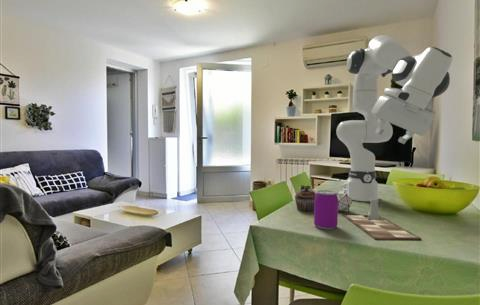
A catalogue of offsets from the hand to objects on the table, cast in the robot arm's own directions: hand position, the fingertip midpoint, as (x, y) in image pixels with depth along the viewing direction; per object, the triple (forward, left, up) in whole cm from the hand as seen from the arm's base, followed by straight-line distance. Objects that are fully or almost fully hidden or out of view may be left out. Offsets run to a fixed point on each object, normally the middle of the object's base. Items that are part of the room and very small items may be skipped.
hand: (389, 138), depth 97 cm
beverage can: (-1, -20, -31) cm, 37 cm away
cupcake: (-25, -21, -31) cm, 45 cm away
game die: (-22, -7, -31) cm, 38 cm away
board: (-2, -2, -30) cm, 31 cm away
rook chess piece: (-11, +1, -31) cm, 33 cm away
